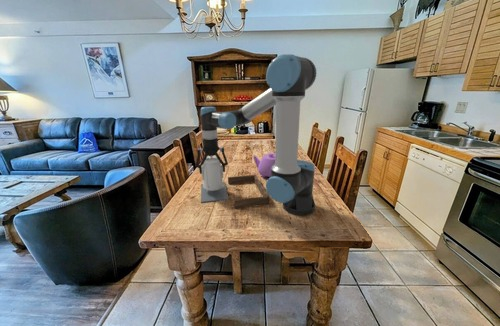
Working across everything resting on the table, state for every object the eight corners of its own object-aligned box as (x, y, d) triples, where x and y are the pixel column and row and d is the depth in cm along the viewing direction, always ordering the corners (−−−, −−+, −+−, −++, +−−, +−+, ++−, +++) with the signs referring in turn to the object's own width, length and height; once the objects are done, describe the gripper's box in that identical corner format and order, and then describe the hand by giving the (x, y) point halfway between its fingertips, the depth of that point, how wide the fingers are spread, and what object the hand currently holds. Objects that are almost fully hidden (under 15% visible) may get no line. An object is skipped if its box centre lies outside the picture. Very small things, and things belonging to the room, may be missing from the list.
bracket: (269, 204, 107) (269, 197, 106) (234, 208, 104) (234, 200, 103) (255, 180, 136) (255, 174, 134) (228, 183, 132) (227, 177, 131)
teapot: (259, 167, 158) (259, 147, 153) (286, 171, 151) (287, 150, 146) (249, 177, 141) (248, 155, 136) (279, 181, 134) (280, 158, 129)
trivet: (228, 199, 112) (228, 198, 112) (201, 202, 110) (200, 201, 110) (224, 183, 133) (224, 182, 133) (201, 185, 130) (201, 184, 130)
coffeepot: (194, 197, 110) (190, 161, 104) (212, 178, 133) (209, 148, 127) (214, 199, 108) (212, 163, 102) (229, 179, 131) (227, 149, 125)
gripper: (230, 135, 117) (232, 173, 124) (188, 137, 113) (192, 177, 120) (232, 138, 110) (234, 178, 117) (187, 140, 106) (191, 182, 113)
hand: (212, 178), depth 119 cm, fingers closed on coffeepot, 10 cm apart
